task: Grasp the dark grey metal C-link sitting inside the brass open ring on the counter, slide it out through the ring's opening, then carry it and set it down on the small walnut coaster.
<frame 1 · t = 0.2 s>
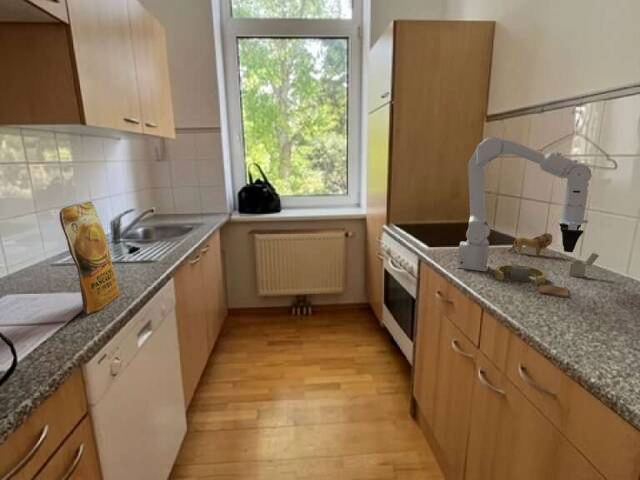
hand: (567, 249, 113), 10 cm above the worktop, tool pointing down, fingers open, 7 cm apart
pancake mix bag: (100, 303, 103), on the worktop
c ring: (519, 278, 117), on the worktop
lighter: (581, 276, 118), on the worktop
lion figurine: (529, 254, 144), on the worktop
coaster: (553, 291, 106), on the worktop
c link: (520, 272, 116), in the c ring
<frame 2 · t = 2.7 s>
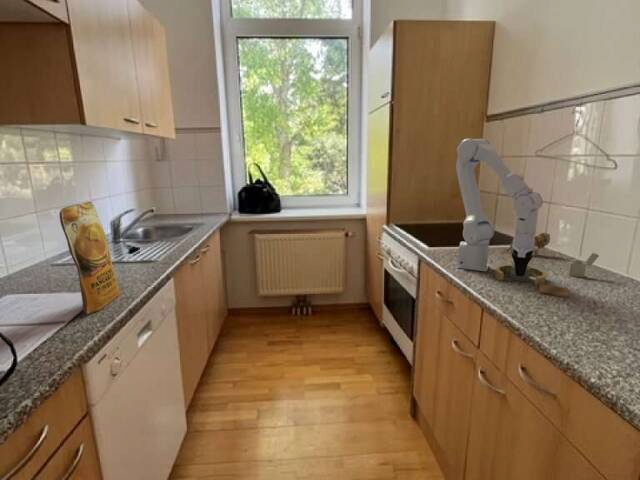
hand: (520, 273, 116), 2 cm above the worktop, tool pointing down, fingers closed on c link, 4 cm apart
c link: (520, 272, 116), in the c ring, touching gripper
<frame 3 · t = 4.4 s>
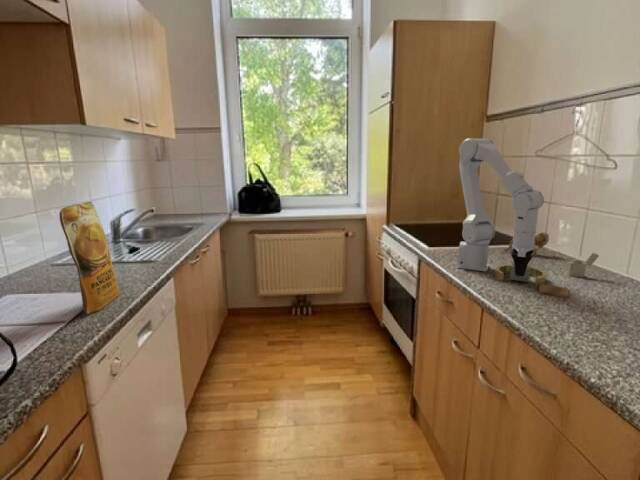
hand: (519, 273, 114), 2 cm above the worktop, tool pointing down, fingers closed on c link, 4 cm apart
c link: (520, 272, 114), in the c ring, point 3 cm above the worktop, touching gripper
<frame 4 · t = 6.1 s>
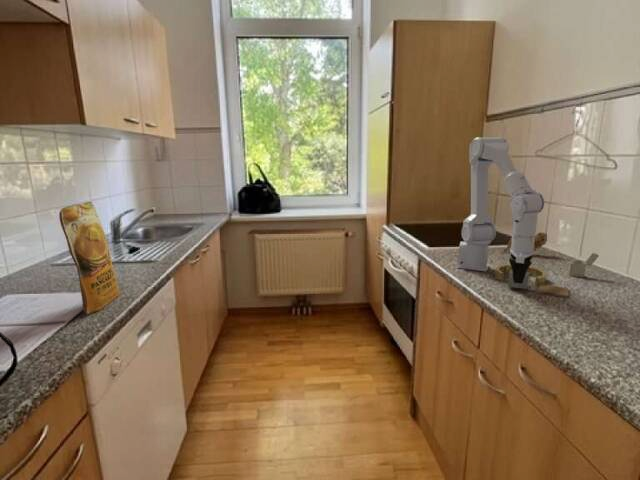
hand: (518, 280, 108), 2 cm above the worktop, tool pointing down, fingers closed on c link, 4 cm apart
c link: (518, 279, 108), point 3 cm above the worktop, touching gripper
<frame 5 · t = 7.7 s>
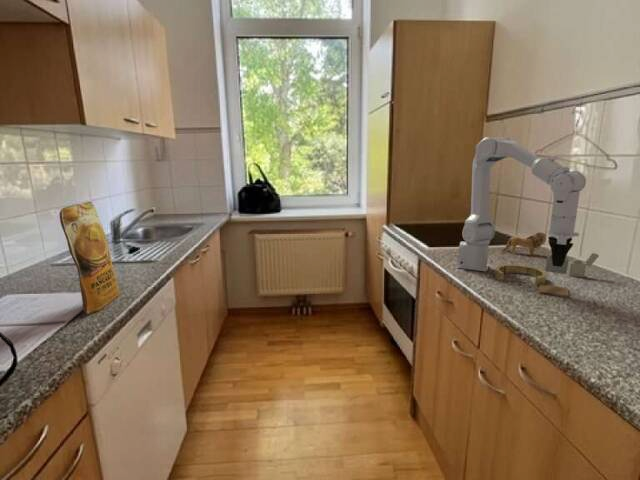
hand: (557, 263, 104), 8 cm above the worktop, tool pointing down, fingers closed on c link, 4 cm apart
c link: (556, 264, 104), point 8 cm above the worktop, touching gripper
when the fingers open (3 cm above the worktop, at t = 9.3 s): c link stays where it is, resting on coaster.
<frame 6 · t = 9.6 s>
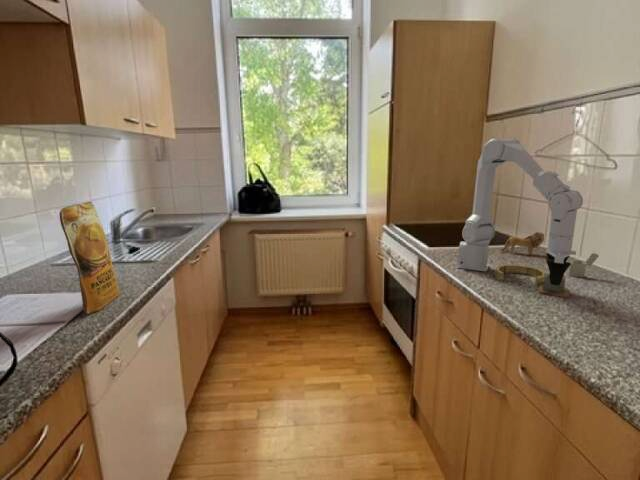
hand: (554, 281, 105), 3 cm above the worktop, tool pointing down, fingers open, 6 cm apart
c link: (553, 282, 105), on the coaster, point 3 cm above the worktop
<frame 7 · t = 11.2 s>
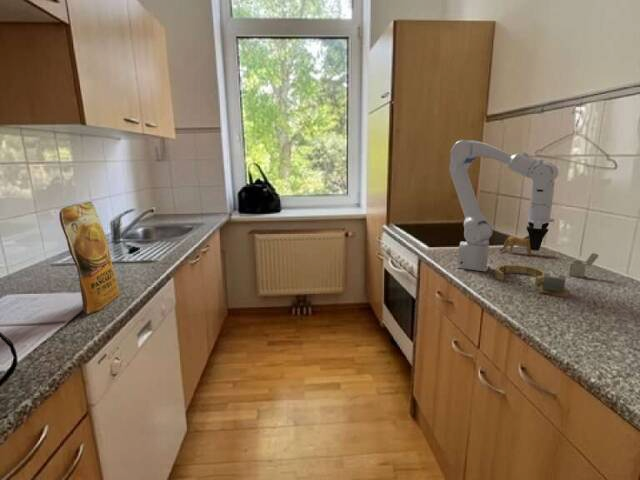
hand: (535, 247, 114), 10 cm above the worktop, tool pointing down, fingers open, 7 cm apart
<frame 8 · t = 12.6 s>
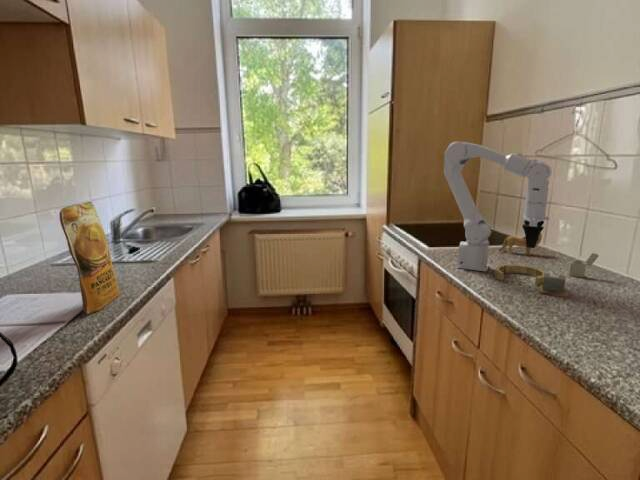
hand: (530, 245, 117), 10 cm above the worktop, tool pointing down, fingers open, 7 cm apart
at the end: c link inside the target area on the coaster (0.2 cm from its centre), point 2.6 cm above the coaster's base; the gripper is holding nothing; c link touching coaster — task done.
